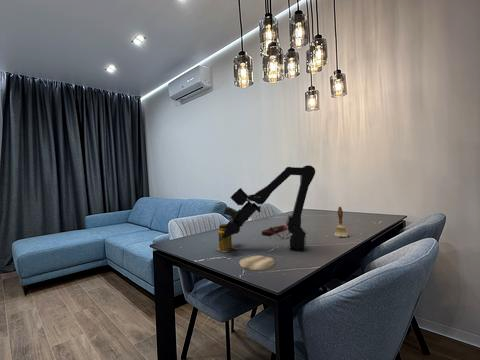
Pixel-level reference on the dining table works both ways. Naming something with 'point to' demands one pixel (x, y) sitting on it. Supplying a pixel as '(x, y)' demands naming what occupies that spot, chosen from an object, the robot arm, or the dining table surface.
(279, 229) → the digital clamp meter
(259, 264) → the beige round plate
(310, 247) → the dining table surface
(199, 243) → the dining table surface
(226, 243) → the condiment
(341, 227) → the hand bell
